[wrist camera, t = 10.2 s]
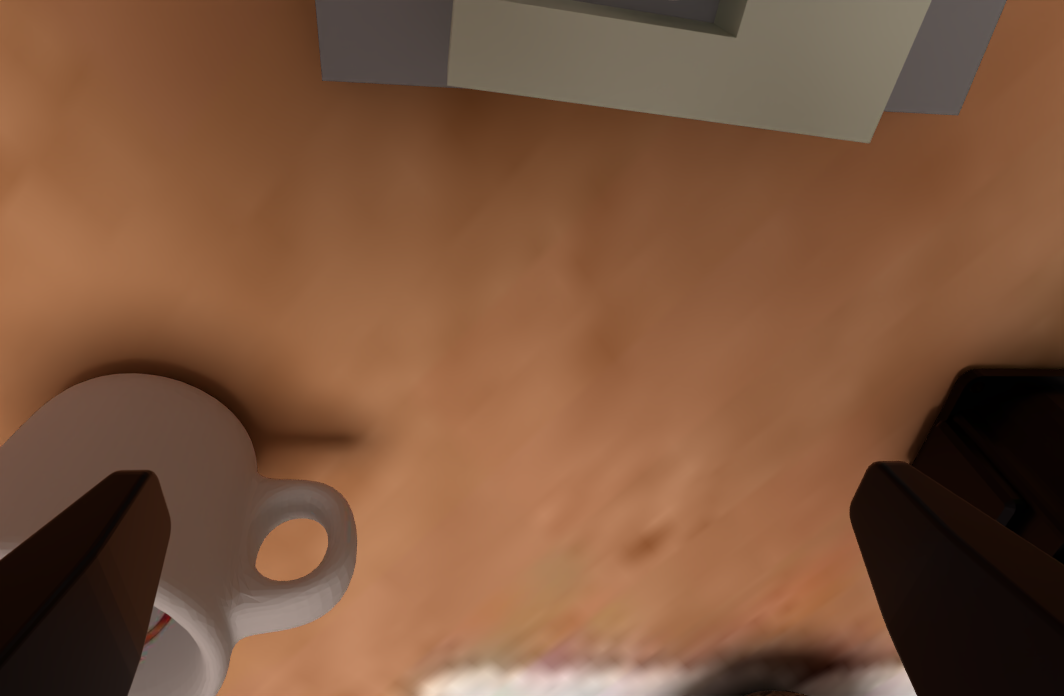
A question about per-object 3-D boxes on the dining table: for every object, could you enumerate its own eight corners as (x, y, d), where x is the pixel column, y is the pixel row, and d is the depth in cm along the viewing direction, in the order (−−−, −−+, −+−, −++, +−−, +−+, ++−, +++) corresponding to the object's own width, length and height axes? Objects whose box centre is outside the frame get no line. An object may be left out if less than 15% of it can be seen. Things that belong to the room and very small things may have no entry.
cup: (368, 346, 22) (335, 556, 15) (372, 520, 26) (347, 740, 20) (-14, 332, 20) (-232, 558, 14) (60, 519, 25) (-79, 757, 18)
